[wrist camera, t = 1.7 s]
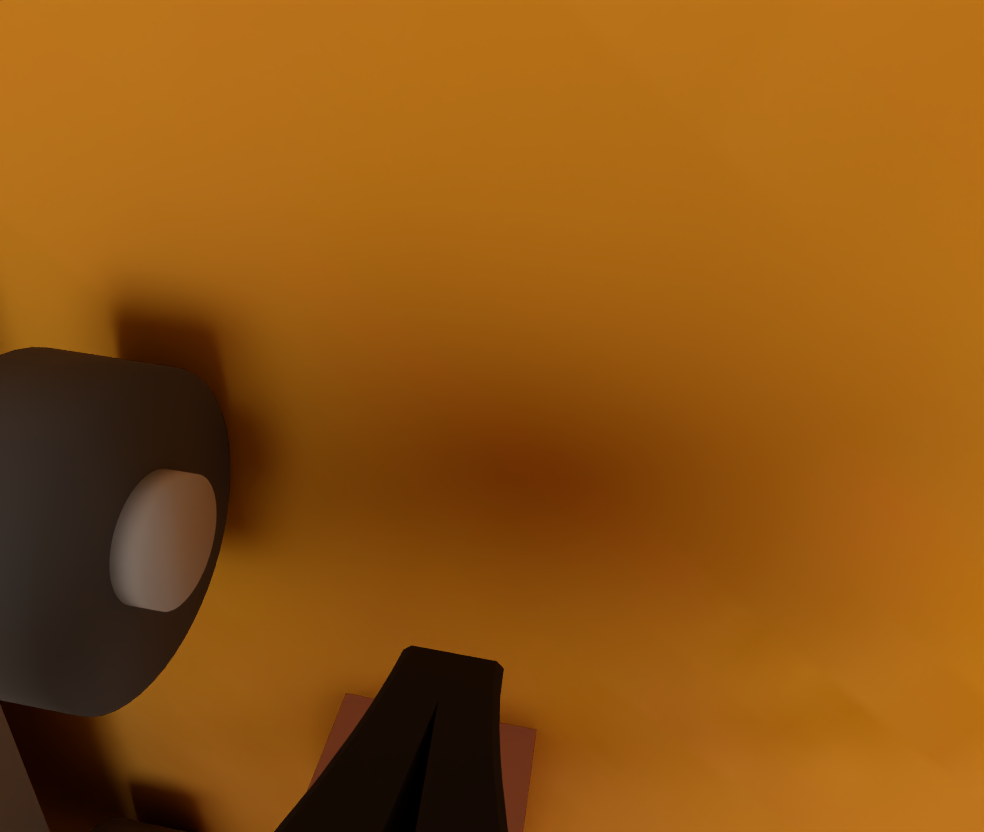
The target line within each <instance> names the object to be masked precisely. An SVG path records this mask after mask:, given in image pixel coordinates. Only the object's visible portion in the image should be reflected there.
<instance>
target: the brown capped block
mask: <svg viewBox="0 0 984 832" xmlns="http://www.w3.org/2000/svg"><path fill="white" fill-rule="evenodd" d="M373 700H374V699H373V698H368V697H363V696H357V695H352V694H347V693H346V695H345V697H344V700H343V702H342V705H341V707H340V710H339V712H338V715H337V717H336V720H335V722H334V725H333V727H332V730H331V732H330V735H329V737H328V740H327V742H326V745H325V747H324V750H323V752H322V755H321V757H320V760H319V763H318V765H317V768H316V770H315V773H314V775H313V778H312V780H311V783H310V785H309V788H308V790H309V789H310V787H311V786H312V785H313V784H314V782H315V781H316V780H317V778H318V777H319V776H320V775H321V773H322V772H323V771H324V769H325V768H326V766H327V765H328V764H329V762H330V761H331V760H332V758H333V757H334V756H335V754H336V753H337V752H338V750H339V749H340V748H341V746H342V745H343V743H344V742H345V741H346V739H347V738H348V737H349V735H350V734H351V733H352V731H353V730H354V728H355V727H356V725H357V724H358V723H359V721H360V720H361V718H362V717H363V715H364V714H365V712H366V711H367V709H368V708H369V706H370V705H371V703H372V702H373ZM535 736H536V730H535V729H530V728H524V727H519V726H514V725H509V724H503V723H500V752H501V768H502V781H503V790H504V799H505V808H506V817H507V826H508V832H523V829H524V821H525V813H526V806H527V798H528V790H529V783H530V775H531V767H532V759H533V752H534V744H535ZM308 790H307V791H308Z"/></svg>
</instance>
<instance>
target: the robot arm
mask: <svg viewBox="0 0 984 832" xmlns="http://www.w3.org/2000/svg"><path fill="white" fill-rule="evenodd" d="M503 671H504V668H503V667H502V666H501V665H500V664H499V663H498V662H497V661H492V660H487V659H482V658H476V657H471V656H465V655H460V654H455V653H449V652H444V651H438V650H433V649H428V648H422V647H417V646H410V647H408V648H406V649H404V650H403V651H402V653H401V655H400V657H399V659H398V661H397V663H396V664H395V666H394V668H393V670H392V671H391V673H390V675H389V676H388V678H387V680H386V681H385V683H384V685H383V686H382V688H381V689H380V691H379V693H378V694H377V696H376V697H375V699H374V700H373V702H372V703H371V705H370V706H369V708H368V709H367V711H366V712H365V714H364V715H363V717H362V718H361V720H360V721H359V723H358V724H357V725H356V727H355V728H354V730H353V731H352V733H351V734H350V735H349V737H348V738H347V739H346V741H345V742H344V743H343V745H342V746H341V748H340V749H339V750H338V752H337V753H336V754H335V756H334V757H333V758H332V760H331V761H330V762H329V764H328V765H327V766H326V768H325V769H324V771H323V772H322V773H321V775H320V776H319V777H318V778H317V780H316V781H315V782H314V784H313V785H312V786H311V787H310V789H309V790H308V791H307V792H306V794H305V795H304V796H303V797H302V798H301V800H300V801H299V802H298V803H297V805H296V806H295V807H294V808H293V809H292V811H291V812H290V813H289V814H288V815H287V817H286V818H285V819H284V820H283V822H282V823H281V824H280V825H279V826H278V828H277V829H276V830H275V831H274V832H508V826H507V817H506V808H505V799H504V790H503V781H502V768H501V752H500V694H501V686H502V678H503Z"/></svg>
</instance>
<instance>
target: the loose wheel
mask: <svg viewBox="0 0 984 832" xmlns="http://www.w3.org/2000/svg"><path fill="white" fill-rule="evenodd" d="M229 491H230V454H229V443H228V437H227V431H226V427H225V423H224V419H223V415H222V413H221V410H220V407H219V405H218V402H217V401H216V399H215V397H214V395H213V393H212V392H211V390H210V389H209V388H208V386H207V385H206V384H205V382H203V381H202V380H201V379H200V378H199V377H198V376H197V375H195V374H193V373H191V372H189V371H188V370H185V369H181V368H177V367H171V366H165V365H158V364H152V363H145V362H138V361H132V360H125V359H119V358H112V357H106V356H99V355H93V354H86V353H80V352H73V351H66V350H60V349H53V348H43V347H30V348H24V349H18V350H13V351H10V352H7V353H5V354H2V355H0V700H2V701H7V702H12V703H17V704H22V705H27V706H32V707H37V708H41V709H46V710H51V711H56V712H61V713H66V714H71V715H76V716H83V717H96V716H103V715H105V714H108V713H111V712H114V711H116V710H118V709H120V708H121V707H123V706H125V705H127V704H128V703H129V702H131V701H132V700H133V699H135V698H136V697H137V696H139V695H140V694H141V693H142V692H143V691H144V690H145V689H146V688H147V687H148V686H149V685H150V684H151V683H152V682H153V681H154V680H155V679H156V678H157V676H158V675H159V674H160V673H161V672H162V671H163V669H164V668H165V667H166V665H167V664H168V663H169V661H170V660H171V658H172V657H173V656H174V654H175V653H176V651H177V650H178V648H179V646H180V645H181V643H182V641H183V640H184V638H185V636H186V634H187V633H188V631H189V629H190V627H191V625H192V623H193V621H194V619H195V617H196V615H197V613H198V611H199V608H200V606H201V604H202V602H203V599H204V597H205V594H206V592H207V589H208V587H209V584H210V581H211V578H212V575H213V572H214V569H215V566H216V562H217V558H218V555H219V551H220V547H221V543H222V538H223V534H224V529H225V523H226V517H227V511H228V502H229Z"/></svg>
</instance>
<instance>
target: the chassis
mask: <svg viewBox="0 0 984 832" xmlns="http://www.w3.org/2000/svg"><path fill="white" fill-rule="evenodd" d="M0 832H50V831H49V828H48V825H47V823H46V820H45V818H44V815H43V813H42V810H41V807H40V805H39V802H38V800H37V797H36V795H35V792H34V790H33V787H32V784H31V782H30V779H29V777H28V774H27V772H26V769H25V766H24V764H23V761H22V759H21V756H20V754H19V751H18V748H17V746H16V743H15V741H14V738H13V736H12V733H11V731H10V728H9V725H8V723H7V720H6V718H5V715H4V713H3V710H2V707H1V705H0ZM90 832H186V831H181V830H176V829H172V828H167V827H162V826H158V825H153V824H148V823H144V822H139V821H134V820H130V819H125V818H120V817H116V818H111V819H108V820H106V821H104V822H103V823H101V824H99V825H98V826H97V827H95V828H94V829H93V830H92V831H90Z"/></svg>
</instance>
